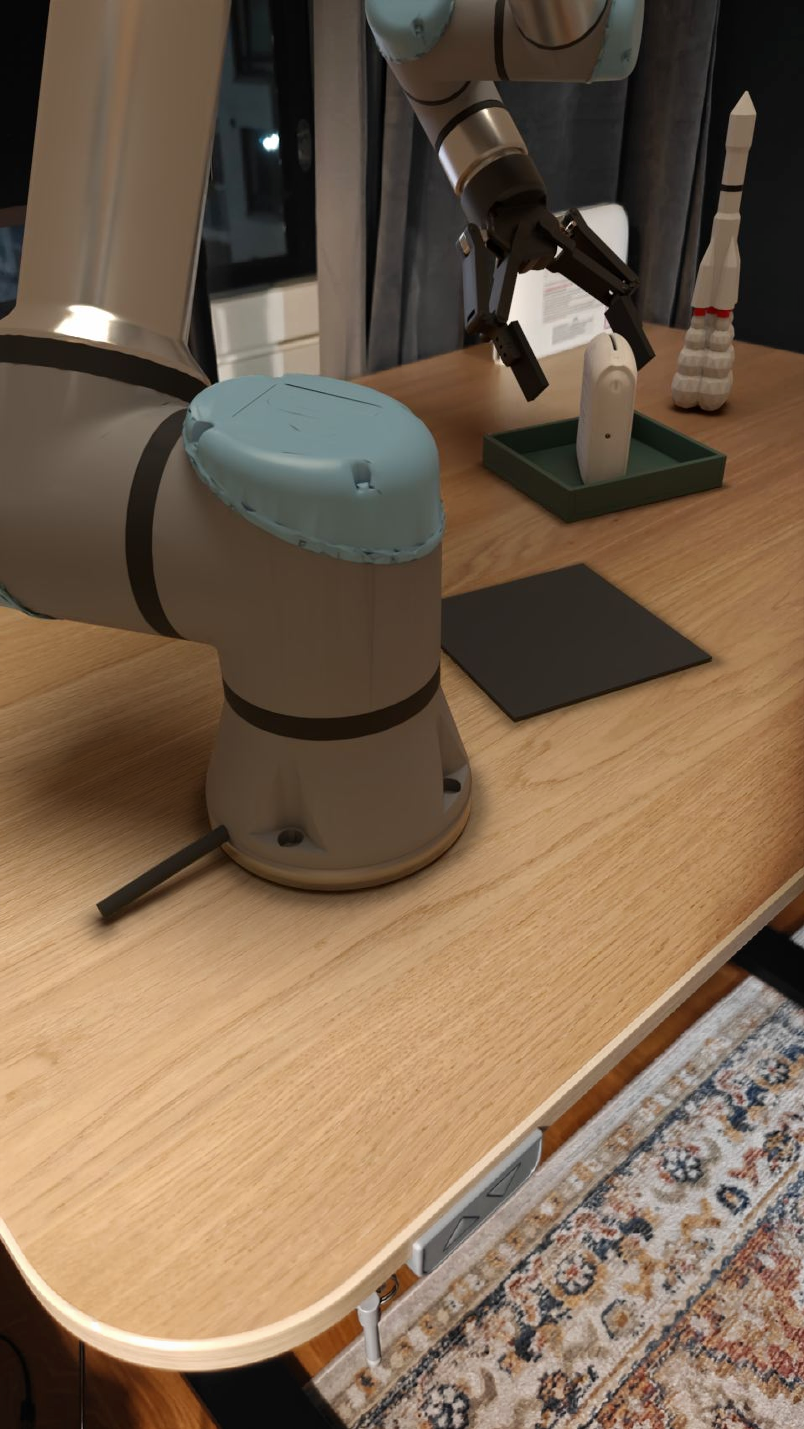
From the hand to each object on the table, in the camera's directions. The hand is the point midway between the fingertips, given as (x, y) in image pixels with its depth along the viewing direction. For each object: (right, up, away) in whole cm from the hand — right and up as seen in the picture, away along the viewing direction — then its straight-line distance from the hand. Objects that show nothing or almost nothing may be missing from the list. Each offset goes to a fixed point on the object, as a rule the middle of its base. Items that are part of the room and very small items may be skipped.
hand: (593, 379), depth 94 cm
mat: (-7, -25, -20) cm, 33 cm away
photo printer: (+1, -8, +4) cm, 9 cm away
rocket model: (+15, +3, +19) cm, 25 cm away
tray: (+1, -8, +4) cm, 9 cm away
